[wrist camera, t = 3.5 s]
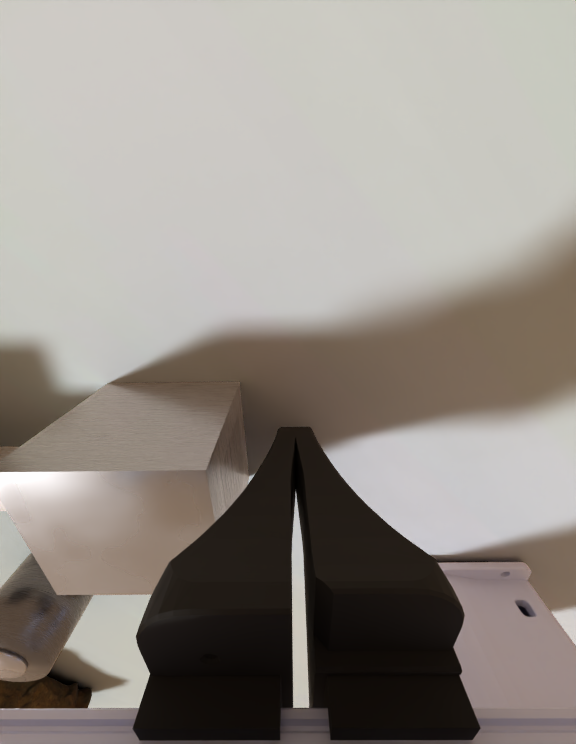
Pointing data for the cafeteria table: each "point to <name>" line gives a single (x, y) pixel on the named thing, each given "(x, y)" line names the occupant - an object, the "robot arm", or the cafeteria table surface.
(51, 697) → the rough brown wooden log
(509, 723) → the robot arm
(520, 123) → the cafeteria table surface
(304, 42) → the cafeteria table surface
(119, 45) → the cafeteria table surface
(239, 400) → the grey block
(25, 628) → the socket
